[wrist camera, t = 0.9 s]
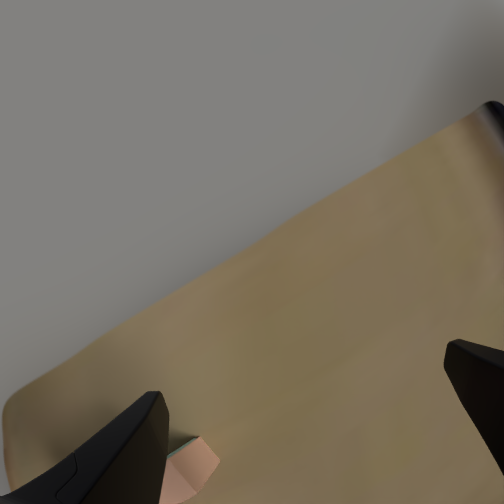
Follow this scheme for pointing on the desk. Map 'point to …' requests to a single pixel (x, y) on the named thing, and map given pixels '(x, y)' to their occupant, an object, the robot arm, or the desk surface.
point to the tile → (187, 471)
